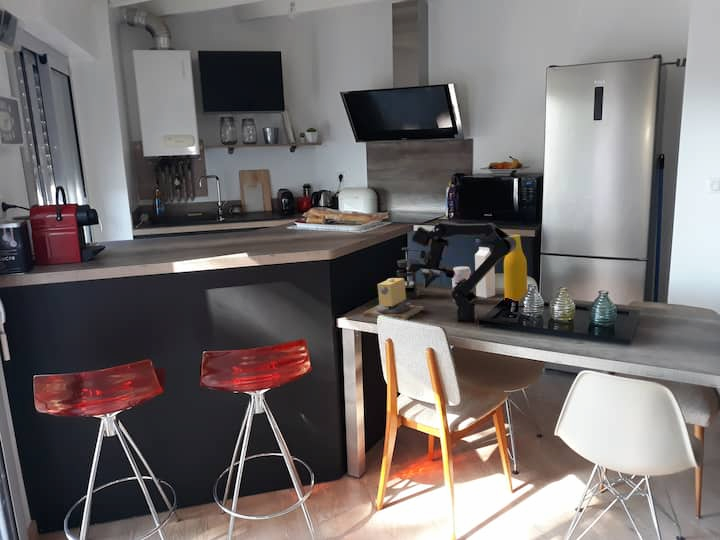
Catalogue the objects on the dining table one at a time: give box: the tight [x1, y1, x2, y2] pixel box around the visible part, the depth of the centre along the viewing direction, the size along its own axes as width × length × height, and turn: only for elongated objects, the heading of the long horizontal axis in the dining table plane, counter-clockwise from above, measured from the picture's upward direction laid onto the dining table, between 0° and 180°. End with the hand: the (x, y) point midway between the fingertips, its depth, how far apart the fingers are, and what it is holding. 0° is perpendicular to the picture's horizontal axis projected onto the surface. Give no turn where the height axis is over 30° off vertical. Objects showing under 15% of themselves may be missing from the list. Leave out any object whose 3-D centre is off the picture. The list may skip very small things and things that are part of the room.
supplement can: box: [451, 265, 472, 302], centre depth 247 cm, size 8×8×15 cm
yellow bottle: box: [503, 234, 528, 301], centre depth 235 cm, size 9×9×29 cm
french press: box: [395, 247, 420, 300], centre depth 262 cm, size 12×9×23 cm
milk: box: [474, 246, 496, 299], centre depth 253 cm, size 6×6×22 cm
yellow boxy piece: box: [377, 277, 407, 306], centre depth 237 cm, size 6×13×10 cm, turn 147°
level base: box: [362, 301, 425, 320], centre depth 239 cm, size 20×16×4 cm
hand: (425, 287), depth 229 cm, fingers closed
